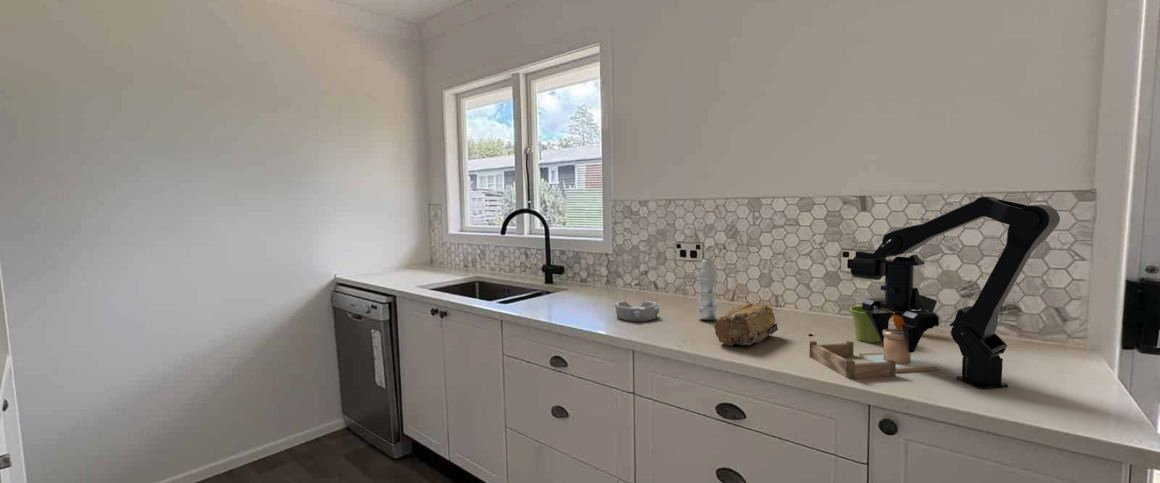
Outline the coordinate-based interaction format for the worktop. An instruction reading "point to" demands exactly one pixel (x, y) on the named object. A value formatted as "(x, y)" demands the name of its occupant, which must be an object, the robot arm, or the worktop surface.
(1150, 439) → the worktop surface
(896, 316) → the carrot
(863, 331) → the plant pot
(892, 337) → the terracotta pot
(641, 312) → the dish
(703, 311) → the plastic bottle
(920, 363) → the lid pane
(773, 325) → the petrified wood
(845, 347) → the frame
